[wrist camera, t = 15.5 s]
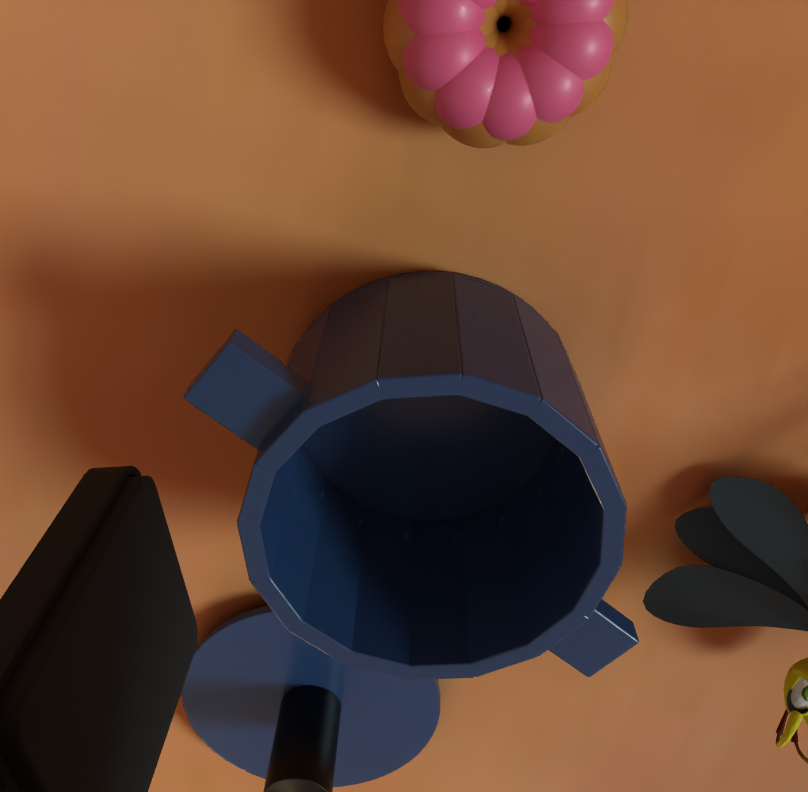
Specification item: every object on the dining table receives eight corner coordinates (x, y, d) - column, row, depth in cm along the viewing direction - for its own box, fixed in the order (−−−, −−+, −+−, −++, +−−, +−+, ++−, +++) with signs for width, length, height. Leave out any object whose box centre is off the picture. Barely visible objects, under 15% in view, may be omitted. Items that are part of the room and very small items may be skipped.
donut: (394, 143, 26) (390, 167, 23) (375, -100, 23) (368, -112, 20) (607, 128, 26) (634, 150, 23) (620, -122, 23) (653, -138, 19)
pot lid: (334, 799, 44) (322, 915, 38) (139, 693, 40) (95, 806, 34) (492, 681, 39) (504, 795, 33) (288, 548, 35) (263, 652, 30)
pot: (482, 597, 36) (498, 760, 29) (170, 381, 31) (91, 511, 24) (681, 436, 32) (761, 578, 24) (356, 153, 27) (331, 223, 19)
